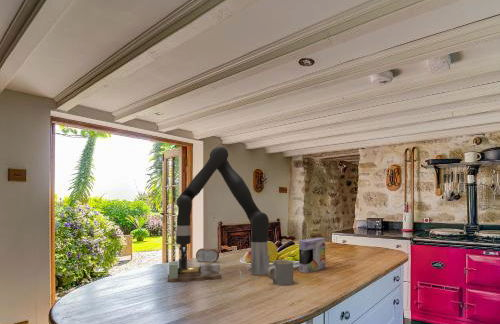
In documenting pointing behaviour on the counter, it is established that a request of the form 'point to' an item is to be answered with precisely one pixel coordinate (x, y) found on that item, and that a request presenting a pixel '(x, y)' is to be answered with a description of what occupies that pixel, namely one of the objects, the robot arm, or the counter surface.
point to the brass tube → (188, 269)
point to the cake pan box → (311, 255)
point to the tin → (207, 255)
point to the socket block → (173, 270)
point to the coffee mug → (281, 272)
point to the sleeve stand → (200, 274)
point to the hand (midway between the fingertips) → (182, 266)
